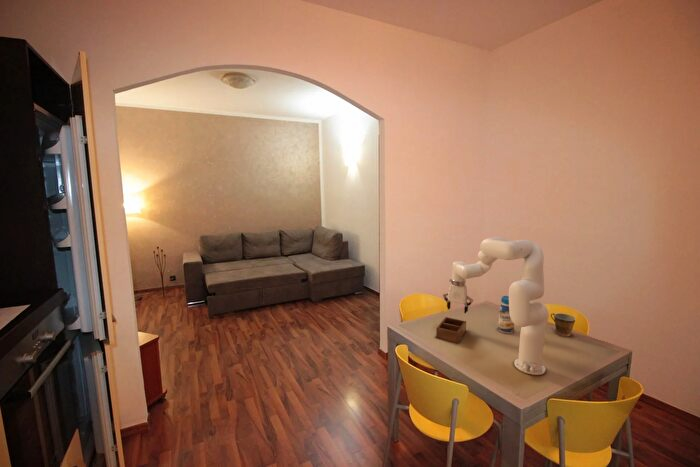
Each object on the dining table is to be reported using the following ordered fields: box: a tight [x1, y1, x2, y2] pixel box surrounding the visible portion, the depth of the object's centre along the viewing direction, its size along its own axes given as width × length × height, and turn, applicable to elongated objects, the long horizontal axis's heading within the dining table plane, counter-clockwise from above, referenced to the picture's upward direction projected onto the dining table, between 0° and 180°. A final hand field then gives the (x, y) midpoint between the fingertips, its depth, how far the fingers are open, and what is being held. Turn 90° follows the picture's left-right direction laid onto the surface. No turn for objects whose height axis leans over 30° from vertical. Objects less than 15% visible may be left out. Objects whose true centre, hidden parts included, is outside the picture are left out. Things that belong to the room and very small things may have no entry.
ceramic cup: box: [550, 312, 576, 337], centre depth 181 cm, size 13×10×10 cm
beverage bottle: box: [497, 295, 515, 334], centre depth 183 cm, size 8×8×20 cm
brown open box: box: [435, 316, 467, 344], centre depth 182 cm, size 6×12×19 cm
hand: (457, 310), depth 188 cm, fingers open, 9 cm apart
